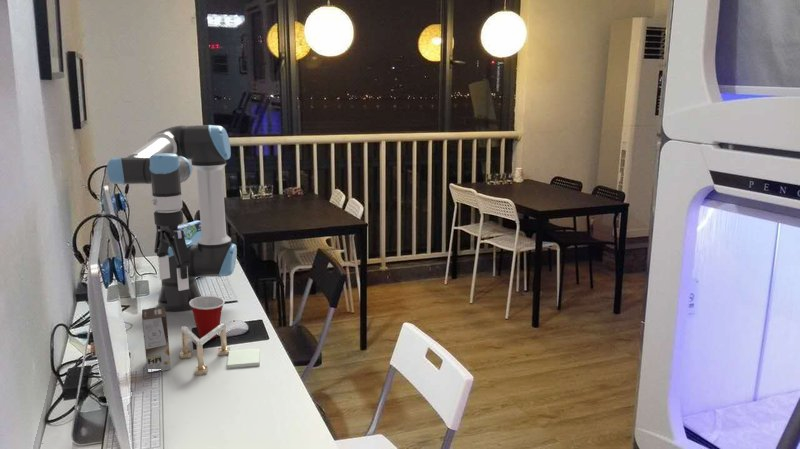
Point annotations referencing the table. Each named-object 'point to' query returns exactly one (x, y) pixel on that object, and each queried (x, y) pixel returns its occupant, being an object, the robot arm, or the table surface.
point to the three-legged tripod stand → (199, 342)
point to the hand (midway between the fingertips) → (174, 284)
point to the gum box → (191, 231)
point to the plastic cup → (207, 313)
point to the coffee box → (156, 338)
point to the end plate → (244, 358)
